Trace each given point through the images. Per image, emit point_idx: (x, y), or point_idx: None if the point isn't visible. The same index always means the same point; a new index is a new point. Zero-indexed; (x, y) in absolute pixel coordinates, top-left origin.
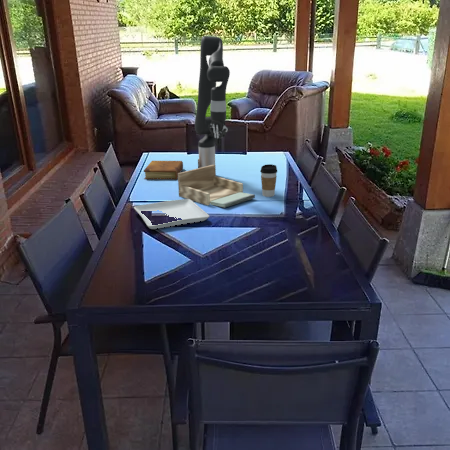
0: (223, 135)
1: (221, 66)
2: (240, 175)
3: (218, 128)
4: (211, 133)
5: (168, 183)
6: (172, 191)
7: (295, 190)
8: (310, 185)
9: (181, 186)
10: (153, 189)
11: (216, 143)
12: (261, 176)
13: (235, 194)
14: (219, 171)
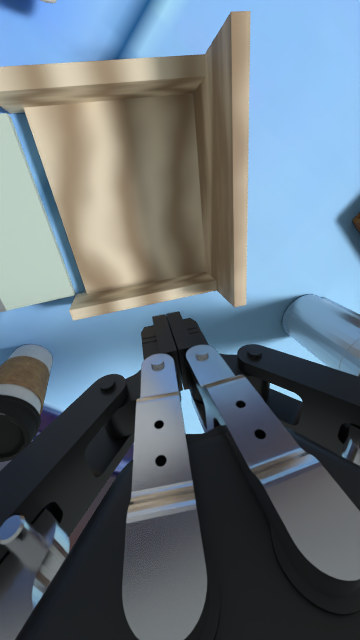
0: (107, 433)
1: None
2: None
3: (133, 504)
4: (288, 356)
5: (347, 166)
6: (270, 108)
7: (44, 429)
8: None
9: (194, 56)
10: (347, 52)
11: (170, 320)
12: (19, 385)
13: (53, 266)
14: (304, 357)
